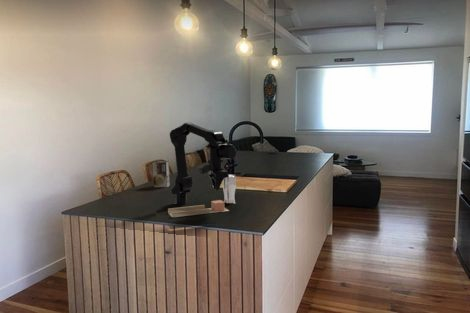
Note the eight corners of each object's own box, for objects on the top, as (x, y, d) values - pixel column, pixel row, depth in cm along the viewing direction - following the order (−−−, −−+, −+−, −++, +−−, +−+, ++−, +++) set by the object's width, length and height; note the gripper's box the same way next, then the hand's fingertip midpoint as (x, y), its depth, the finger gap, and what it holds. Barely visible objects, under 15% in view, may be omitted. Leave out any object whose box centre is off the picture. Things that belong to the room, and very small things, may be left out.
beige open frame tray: (168, 214, 185) (167, 208, 184) (223, 208, 196) (223, 202, 195) (172, 219, 177) (172, 213, 177) (229, 212, 188) (229, 206, 187)
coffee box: (169, 185, 256) (169, 161, 254) (167, 187, 250) (166, 162, 248) (156, 185, 257) (155, 161, 255) (153, 187, 251) (152, 162, 249)
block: (211, 209, 191) (211, 201, 191) (220, 207, 193) (220, 200, 192) (214, 211, 186) (214, 203, 186) (224, 210, 188) (224, 202, 188)
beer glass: (233, 205, 202) (232, 176, 200) (220, 204, 204) (220, 176, 202) (237, 202, 208) (237, 174, 206) (226, 201, 211) (225, 174, 209)
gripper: (193, 156, 192) (194, 187, 194) (205, 160, 175) (206, 195, 177) (215, 155, 196) (215, 185, 198) (228, 159, 179) (229, 192, 181)
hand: (216, 189), depth 188 cm, fingers open, 3 cm apart
